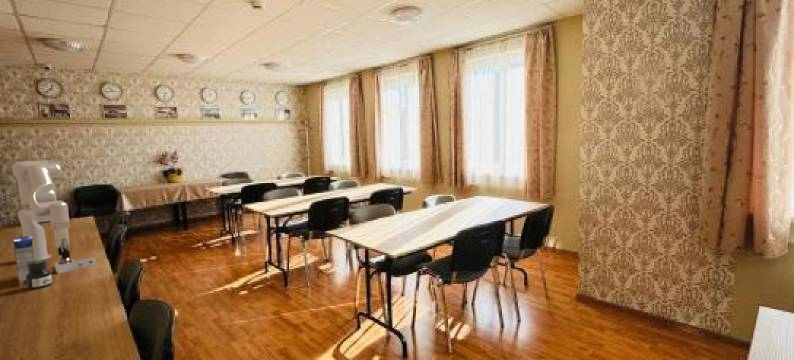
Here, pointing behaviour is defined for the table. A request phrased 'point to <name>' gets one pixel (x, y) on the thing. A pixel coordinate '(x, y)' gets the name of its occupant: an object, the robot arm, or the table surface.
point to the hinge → (74, 265)
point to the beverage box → (24, 256)
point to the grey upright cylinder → (64, 260)
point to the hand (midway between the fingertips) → (64, 256)
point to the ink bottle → (38, 275)
